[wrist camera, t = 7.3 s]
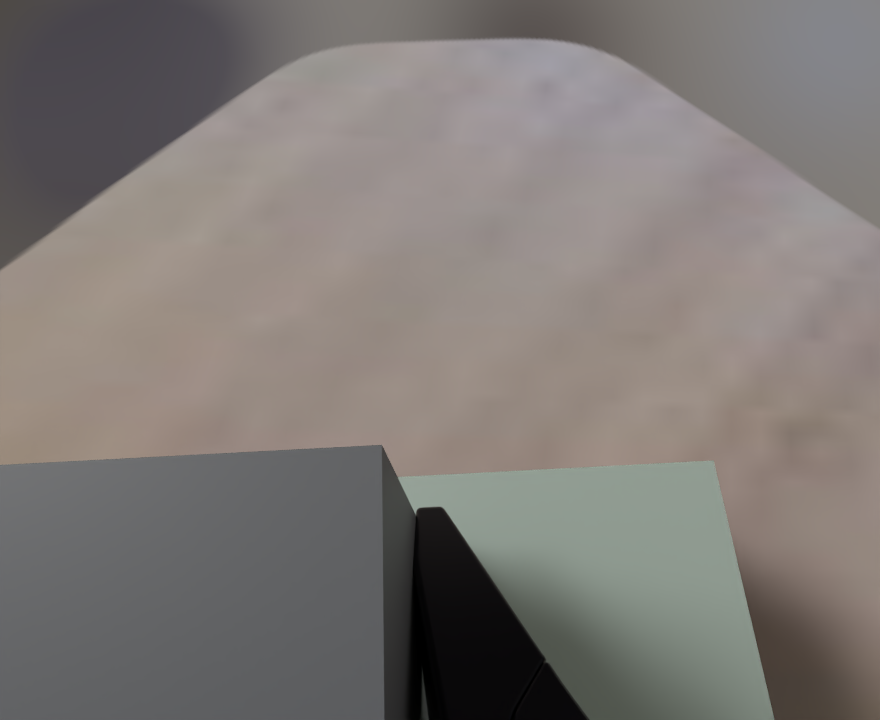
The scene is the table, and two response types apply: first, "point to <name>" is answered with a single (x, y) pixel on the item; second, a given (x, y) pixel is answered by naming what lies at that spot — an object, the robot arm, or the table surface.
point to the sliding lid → (356, 586)
